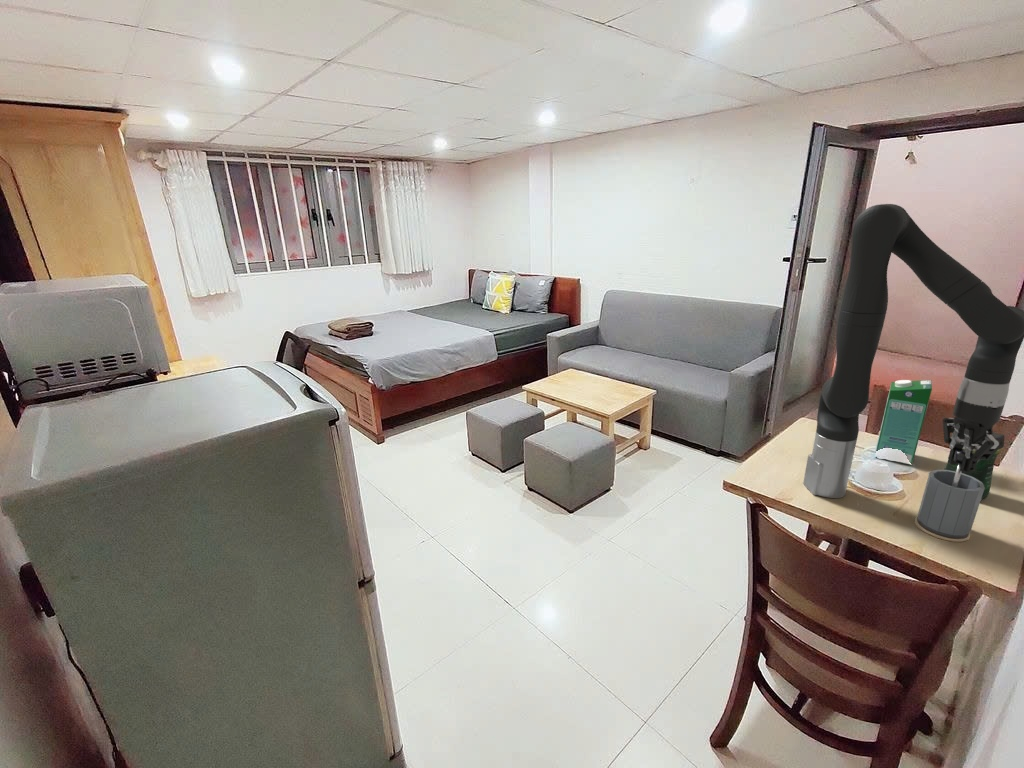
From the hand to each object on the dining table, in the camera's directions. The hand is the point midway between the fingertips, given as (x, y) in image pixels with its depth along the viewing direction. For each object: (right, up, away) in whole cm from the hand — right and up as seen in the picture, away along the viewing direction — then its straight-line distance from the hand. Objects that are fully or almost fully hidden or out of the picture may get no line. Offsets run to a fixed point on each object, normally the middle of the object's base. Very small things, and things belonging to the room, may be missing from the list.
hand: (960, 467), depth 107 cm
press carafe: (+1, -16, +6) cm, 17 cm away
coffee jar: (+20, -10, +20) cm, 30 cm away
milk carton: (+17, -3, +39) cm, 43 cm away
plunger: (+1, -14, +5) cm, 15 cm away
